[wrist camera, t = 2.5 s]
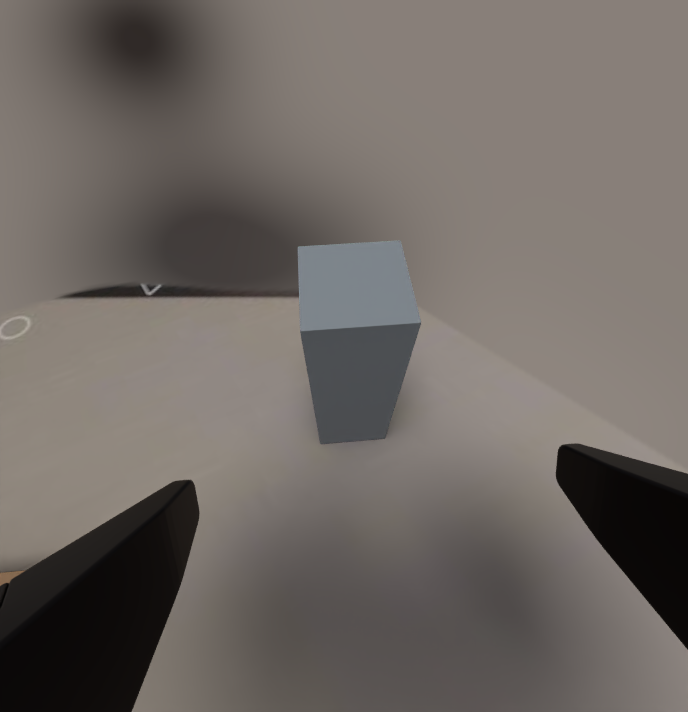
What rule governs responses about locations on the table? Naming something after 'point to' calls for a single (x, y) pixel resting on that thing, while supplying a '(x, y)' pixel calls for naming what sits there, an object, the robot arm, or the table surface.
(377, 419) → the slate block
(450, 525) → the table surface
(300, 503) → the table surface
